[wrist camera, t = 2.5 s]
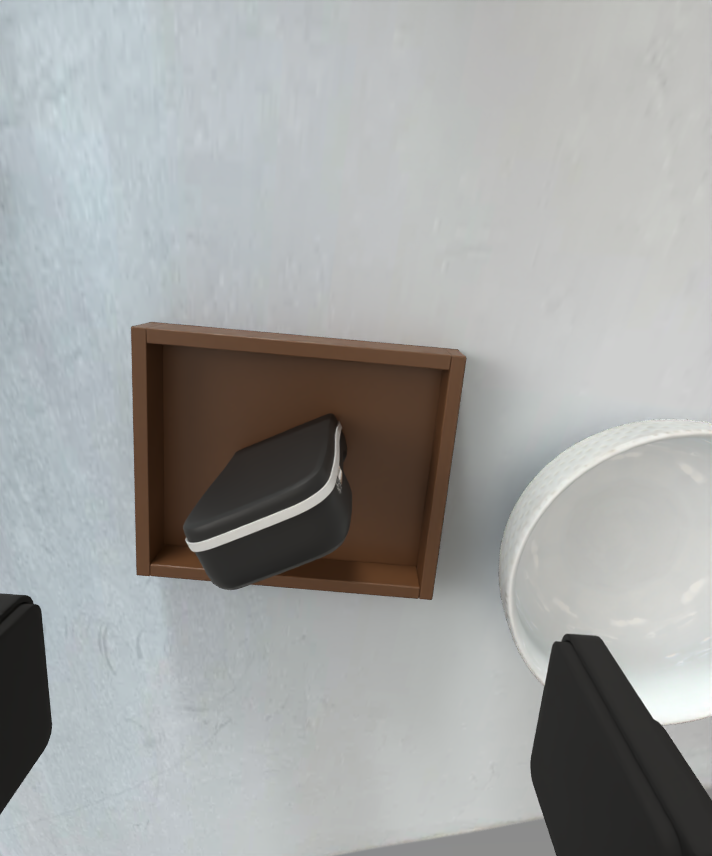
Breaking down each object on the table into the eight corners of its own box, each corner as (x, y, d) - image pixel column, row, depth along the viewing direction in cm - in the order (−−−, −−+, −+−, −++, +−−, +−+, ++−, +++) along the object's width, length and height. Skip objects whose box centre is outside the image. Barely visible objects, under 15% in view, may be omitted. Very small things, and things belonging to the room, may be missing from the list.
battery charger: (258, 506, 34) (207, 616, 23) (230, 452, 33) (164, 540, 22) (362, 464, 33) (361, 558, 22) (337, 407, 32) (323, 476, 21)
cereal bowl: (517, 375, 32) (558, 402, 25) (793, 422, 33) (907, 461, 26) (454, 625, 37) (474, 706, 30) (697, 663, 37) (772, 751, 30)
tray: (153, 552, 35) (136, 575, 33) (150, 321, 32) (130, 326, 29) (427, 575, 36) (432, 600, 33) (458, 349, 32) (466, 356, 29)
